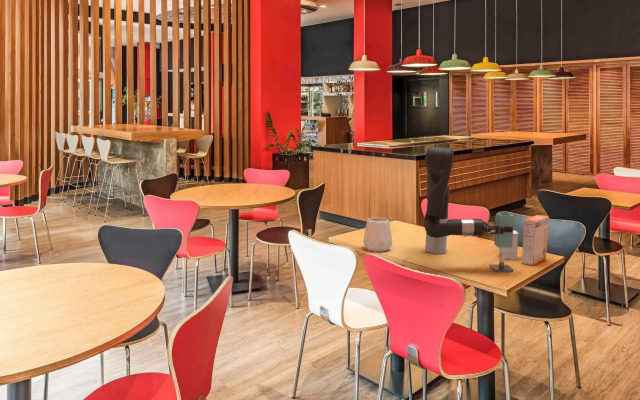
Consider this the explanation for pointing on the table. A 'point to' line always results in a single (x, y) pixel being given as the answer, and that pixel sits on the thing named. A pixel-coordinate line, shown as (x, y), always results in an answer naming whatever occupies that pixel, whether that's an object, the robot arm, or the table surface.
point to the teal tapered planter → (507, 237)
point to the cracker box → (535, 239)
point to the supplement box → (511, 252)
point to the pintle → (501, 265)
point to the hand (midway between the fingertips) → (509, 228)
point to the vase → (378, 235)
